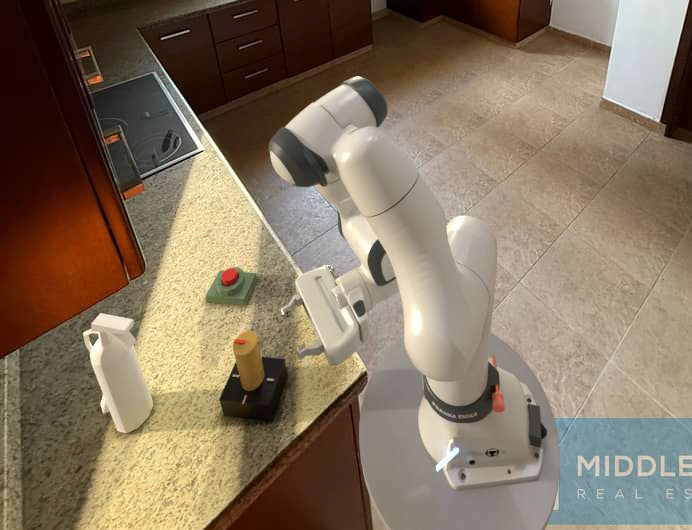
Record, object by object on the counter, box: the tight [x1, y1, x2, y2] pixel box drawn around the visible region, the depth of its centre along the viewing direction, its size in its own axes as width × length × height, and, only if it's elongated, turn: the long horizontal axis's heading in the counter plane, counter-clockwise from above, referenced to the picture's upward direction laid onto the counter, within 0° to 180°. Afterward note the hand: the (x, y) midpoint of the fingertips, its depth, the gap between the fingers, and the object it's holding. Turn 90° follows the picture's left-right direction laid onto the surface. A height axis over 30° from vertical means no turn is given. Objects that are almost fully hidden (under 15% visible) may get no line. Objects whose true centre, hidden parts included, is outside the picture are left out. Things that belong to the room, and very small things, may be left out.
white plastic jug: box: [82, 312, 154, 434], centre depth 81 cm, size 7×12×25 cm, turn 80°
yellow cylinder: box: [232, 330, 265, 391], centre depth 83 cm, size 4×4×10 cm
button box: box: [205, 266, 258, 307], centre depth 108 cm, size 10×7×4 cm
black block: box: [218, 353, 289, 423], centre depth 86 cm, size 10×9×5 cm
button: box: [222, 267, 238, 286], centre depth 107 cm, size 4×4×2 cm
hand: (289, 333), depth 87 cm, fingers open, 8 cm apart
